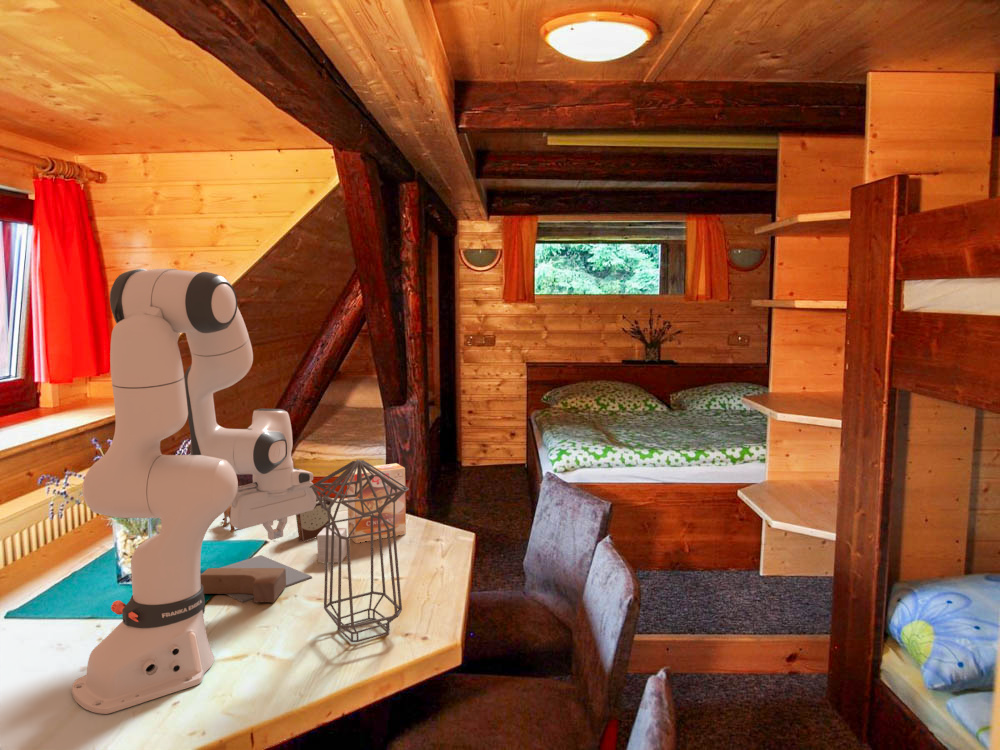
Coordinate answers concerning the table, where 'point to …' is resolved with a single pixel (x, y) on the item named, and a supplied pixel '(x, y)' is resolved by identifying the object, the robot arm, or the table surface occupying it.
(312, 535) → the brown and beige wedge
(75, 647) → the table surface
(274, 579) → the wooden block
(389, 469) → the coffeecake box
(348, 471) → the geometric lantern
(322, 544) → the product box
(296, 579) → the mat
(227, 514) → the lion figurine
